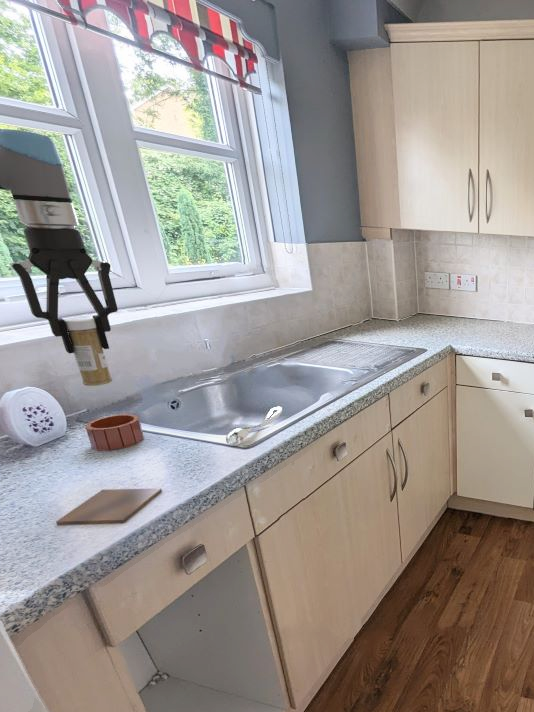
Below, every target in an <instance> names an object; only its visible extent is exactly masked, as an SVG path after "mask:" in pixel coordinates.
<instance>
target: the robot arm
mask: <svg viewBox="0 0 534 712" xmlns="http://www.w3.org/2000/svg"><path fill="white" fill-rule="evenodd" d="M64 170H65V169H64V163H63V161H62V159H61V156H60V154H59V150H58V148H57V144H56V143H55V141H54V140H53V138H51V137H49V136H47V135H46V134H42V133H39V132H32V131H27V130H19V129H12V128H11V129H10V128H0V190H5V191H10V193H11V196H12V199H13V202H14V206H15V209H16V212H17V215H18V218H19V221H20V223H21V224H23V225H26V227H24V229H22V231H23V234H24V237H25V240H26V243H27V247H28V250H29V254H28V256H27V259H25V260H21V261H17V262H15V261H14V262H11V263H10V267H11V268H12V269H13V271H14V272H15V273H16V274H17V275H18V277H19V280H20V283H21V286H22V289H23V291H24V294H25V298H26V301H27V303H28V307H29V310H30V312H31V314H32V316H34V317H35V318H38V319H45V320H47V321H48V323H49V327H50V330H51V333H52V334H53V336H55V337H56V338H58V337H61V341H62V342H63V345H64V349H65V351H66V352H67V354H74V351H73V347H72V344H71V341H70V338H69V334H68V331H67V328H66V325H65V321H64V320H65V319H64V318H62V317H59V286H60V285H59V284H60V280H64V279H73V280H75V281H76V282H77V283H78V285H79V287H80V288H81V291H83V293H84V295H85V296H86V298H87V300H88V301H89V303H90V305H91V306H92V308H93V310H94V312H95V313H96V314H97V315H95V314H94V315H92V318H94V319H95V321H96V325H97V327H96V328H97V333H98V336H99V340H100V343H101V346H102V349H103V350H109V349H110V346H109V342H108V339H107V335H106V333H107V332H111V329H112V328H111V325H110V321H109V315H110V314H113V313H116V312H118V310H119V309H118V305H117V301H116V298H115V297H116V296H115V292H114V289H113V286H112V282H111V278H110V271H111V263H109V262H107V261H104V260H103V261H101V260H97V259H93V257H91V256H90V255H89V253H88V252H87V249H86V246H85V243H84V238H83V235H82V232H81V230H80V229H78V228H76V227H78V226H79V220H78V217H77V214H76V210H75V207H74V204H73V199H72V198H71V194H70V190H69V185H68V181H67V178H66V174H65V171H64ZM91 265H92V267H93V269H94V271H96V272H97V276H98V280H99V284H100V287H101V292H102V294H103V298H104V302H105V303H104V304H105V306H104V305H103V304H102V302H101V300H100V299H99V297H98V295H97V294H96V292H95V291H94V288H93V287H92V285H91V284H90V282H89V279H88V278H87V276H86V272H87V271H88V270H89V268H90V266H91ZM32 266H34V267H35V268H36V269H38V270H39V271H41V272H42V274H45V276H46V304H45V305H46V306H45V307H46V308H45V309H46V310H43V309H42V306H41V303H40V301H39V297H38V295H37V292H36V288H35V285H34V282H33V279H32V277H31V275H30V274H31V273H32V272H33V269H32Z"/></svg>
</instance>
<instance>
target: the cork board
mask: <svg viewBox="0 0 534 712" xmlns="http://www.w3.org/2000/svg"><path fill="white" fill-rule="evenodd" d="M162 491H163V490H162V488H160V487H159V488H119V489H118V488H117V489H116V488H113V489H111V488H109V489H101V490H99V491H98V492H97V493H95V494H94V495H93V496H91V497H89V498H88V499H87V500H85V501H84V502H82V503H81V504H80V505H78V506H76V507H75V508H74V509H72V510H71V511H69V512H68V513H66V514H65V515H64V516H62V517H61V518H59V519H58V520H56V522H55V523H56V525H57V526H58V525H59V526H60V525H63V526H64V525H90V524H91V525H92V524H93V525H94V524H124V523H126V521H128V520H129V519H130V518H131V517H133V516H134V515H135V514H136V513H138V512H139V511H140V510H141V509H142V508H143V507H145V506H147V504H148V503H149V502H151V501H152V500H153V499H155V498H156V497H157V496H158V495H159V494H160V493H162Z"/></svg>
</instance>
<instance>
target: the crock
mask: <svg viewBox="0 0 534 712" xmlns="http://www.w3.org/2000/svg"><path fill="white" fill-rule="evenodd" d="M85 430H86V434H87V437H88V440H89V443H90V446H91V448H92V449H94V450H96V451H110V450H111V451H113V450H119V449H124V448H127V447H130V446H133V445H136V444H138V443H140V442H142V441H144V437H145V435H144V431H143V428H142V424H141V420H140V417H139V416H138V415H136V414H132V413H131V414H130V413H122V414H120V413H119V414H113V415H108V416H103V417H100V418H96V419H94V420H91V421H89V422H88V423H86V425H85Z"/></svg>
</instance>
